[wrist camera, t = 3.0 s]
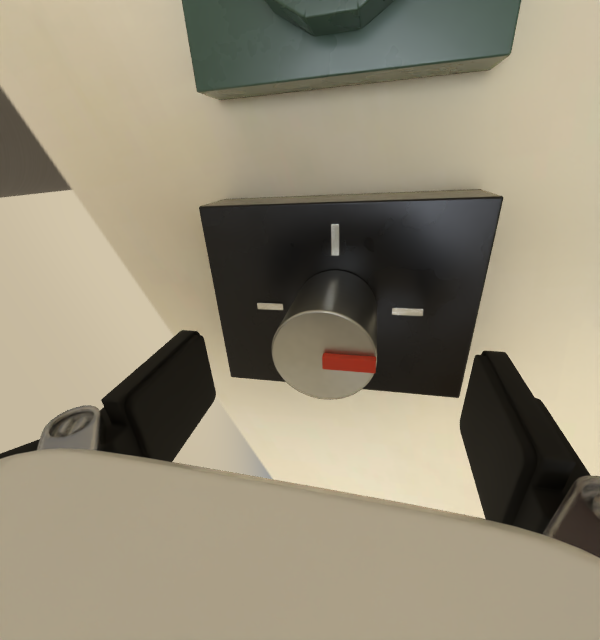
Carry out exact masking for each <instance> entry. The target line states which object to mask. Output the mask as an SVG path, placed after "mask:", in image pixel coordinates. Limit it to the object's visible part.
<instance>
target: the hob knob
mask: <svg viewBox="0 0 600 640" xmlns="http://www.w3.org/2000/svg"><path fill="white" fill-rule="evenodd" d="M272 357H273V361H274V364H275V367H276V369H277V371H278V372H279V374H280V375H281V377H282V378H283V379H284V380H285V381H286V382H287V383H288V384H289V385H290V386H292V387H293V388H294V389H296V390H297V391H299V392H301V393H303V394H305V395H308V396H311V397H315V398H319V399H340V398H344V397H348V396H350V395H353V394H355V393H357V392H358V391H360V390H361V389H362V388H364V387H365V386H366V385H367V384H368V383H369V381H370V380H371V378H372V377H373V375H374V373H376V365H377V303H376V299H375V296H374V294H373V292H372V290H371V289H370V287H369V286H368V285H367V284H366V283H365V282H364V281H363V280H362V279H361V278H359V277H358V276H356V275H354V274H351V273H348V272H345V271H338V270H331V271H325V272H321V273H319V274H316V275H314V276H313V277H311V278H310V279H309V280H307V281H306V282H305V284H304V285H303V286H302V288H301V289H300V291H299V293H298V294H297V296H296V298H295V300H294V301H293V303H292V305H291V307H290V308H289V310H288V312H287V314H286V315H285V317H284V319H283V321H282V322H281V324H280V326H279V327H278V329H277V331H276V333H275V335H274V338H273V341H272Z"/></svg>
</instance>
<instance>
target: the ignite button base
mask: <svg viewBox="0 0 600 640" xmlns="http://www.w3.org/2000/svg"><path fill="white" fill-rule="evenodd" d="M182 4H183V10H184V16H185V22H186V28H187V34H188V40H189V46H190V52H191V58H192V64H193V70H194V76H195V82H196V88H197V92H199V93H202V94H205V95H207V96H210V97H213V98H216V99H219V100H223V99H232V98H241V97H250V96H259V95H268V94H277V93H286V92H295V91H304V90H313V89H322V88H331V87H340V86H349V85H358V84H367V83H376V82H385V81H393V80H402V79H411V78H420V77H429V76H438V75H447V74H456V73H465V72H474V71H483V70H490V69H492V68H493V67H494V66H496V65H497V64H498V63H500V62H501V61H502V60H504V59H505V58H506V57H508V56H509V55H510V54H511V50H512V45H513V40H514V35H515V29H516V24H517V19H518V14H519V9H520V4H521V0H182Z"/></svg>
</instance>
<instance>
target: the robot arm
mask: <svg viewBox="0 0 600 640" xmlns="http://www.w3.org/2000/svg"><path fill="white" fill-rule="evenodd" d="M215 396H216V391H215V387H214V382H213V378H212V373H211V369H210V364H209V360H208V355H207V351H206V346H205V342H204V338H203V336H201V335H200V334H199V332H197V331H186V330H182V331H180V332H179V333H178V334H177V335H176V336H174V337H173V338H172V339H171V340H170V341H169V342H167V343H166V344H165V345H164V346H163V347H162V348H161V349H159V350H158V351H157V352H156V353H155V354H154V355H153V356H151V357H150V358H149V359H148V360H147V361H146V362H145V363H143V364H142V365H141V366H140V367H139V368H138V369H136V370H135V371H134V372H133V373H132V374H131V375H130V376H128V377H127V378H126V379H125V380H124V381H122V382H121V383H120V384H119V385H118V386H117V387H115V388H114V389H113V390H112V391H111V392H110V393H108V394H107V395H106V396H105V397H104V398H103V399H102V403H103V404H104V408H102V409H101V410H100V411H99V409H98V408H96V407H94V406H80V407H76V408H73V409H70V410H67V411H65V412H63V413H62V414H60V415H58V416H57V417H55V418H54V419H52V420H51V421H50V422H49V423H48V424H47V425H46V426H45V428H44V430H43V432H42V435H41V438H40V439H39V440H36V441H34V442H31V443H28V444H26V445H23V446H20V447H18V448H15V449H12V450H9V451H7V452H4V453H1V454H0V640H600V476H591V475H590V474H589V472H588V471H587V469H586V468H585V466H584V465H583V463H582V462H581V460H580V459H579V457H578V456H577V454H576V453H575V451H574V449H573V448H572V446H571V445H570V443H569V442H568V440H567V439H566V437H565V436H564V434H563V433H562V431H561V430H560V428H559V427H558V425H557V424H556V422H555V421H554V419H553V417H552V416H551V414H550V413H549V411H548V410H547V408H546V407H545V405H544V404H543V403H542V401H541V400H539V399H537V398H535V397H534V396H533V394H532V393H531V391H530V390H529V388H528V386H527V385H526V383H525V382H524V380H523V379H522V377H521V375H520V374H519V372H518V371H517V369H516V368H515V366H514V364H513V363H512V361H511V360H510V358H509V357H508V355H507V354H506V353H505V352H494V351H483V352H482V354H481V355H476V356H475V358H474V362H473V366H472V371H471V375H470V379H469V384H468V388H467V392H466V397H465V401H464V405H463V410H462V414H461V418H460V431H461V435H462V438H463V442H464V445H465V449H466V452H467V456H468V459H469V463H470V466H471V470H472V473H473V477H474V480H475V484H476V487H477V491H478V494H479V498H480V501H481V505H482V508H483V511H484V515H485V518H486V519H482V518H477V517H472V516H467V515H462V514H457V513H452V512H447V511H442V510H437V509H432V508H427V507H422V506H417V505H412V504H406V503H401V502H395V501H390V500H384V499H379V498H373V497H368V496H362V495H357V494H351V493H346V492H340V491H335V490H329V489H324V488H318V487H312V486H307V485H301V484H295V483H290V482H284V481H278V480H273V479H267V478H261V477H255V476H250V475H244V474H239V473H233V472H227V471H221V470H215V469H210V468H204V467H198V466H192V465H186V464H180V463H174V462H172V461H173V460H174V458H175V457H176V455H177V454H178V452H179V451H180V450H181V448H182V447H183V445H184V444H185V442H186V441H187V439H188V438H189V437H190V435H191V434H192V432H193V431H194V429H195V428H196V426H197V425H198V423H199V422H200V421H201V419H202V417H203V416H204V415H205V413H206V412H207V410H208V409H209V407H210V406H211V405H212V403H213V402H214V400H215Z"/></svg>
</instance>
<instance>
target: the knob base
mask: <svg viewBox="0 0 600 640" xmlns="http://www.w3.org/2000/svg"><path fill="white" fill-rule="evenodd" d="M502 202H503V197H502V196H499V195H496V194H493V193H490V192H487V191H484V190H481V189H478V190H451V191H425V192H399V193H372V194H346V195H320V196H294V197H267V198H241V199H224V200H220V201H217V202H213V203H210V204H206V205H203V206H200V207H199V210H200V216H201V221H202V226H203V231H204V236H205V242H206V247H207V252H208V257H209V263H210V268H211V273H212V278H213V284H214V289H215V294H216V299H217V305H218V310H219V315H220V320H221V326H222V331H223V336H224V341H225V346H226V352H227V357H228V362H229V367H230V373H231V377H238V378H249V379H260V380H271V381H282V382H286V381H285V380H284V379H283V378H282V377H281V375H280V374H279V372H278V371H277V369H276V367H275V364H274V361H273V357H272V341H273V338H274V335H275V333H276V331H277V329H278V327H279V326H280V324H281V322H282V321H283V319H284V317H285V315H286V314H287V312H288V310H289V308H290V307H291V305H292V303H293V301H294V300H295V298H296V296H297V294H298V293H299V291H300V289H301V288H302V286H303V285H304V284H305V282H306V281H307V280H309V279H310V278H311V277H313V276H314V275H316V274H319V273H321V272H325V271H331V270H338V271H345V272H348V273H351V274H354V275H356V276H358V277H359V278H361V279H362V280H363V281H364V282H365V283H366V284H367V285H368V286H369V287H370V289H371V290H372V292H373V294H374V296H375V299H376V303H377V365H376V373H374V375H373V377H372V378H371V380H370V381H369V383H368V384H367V385H366V386H365V387H364V388H362V389H368V390H379V391H390V392H401V393H411V394H422V395H433V396H444V397H455V398H459V396H460V391H461V387H462V382H463V378H464V373H465V369H466V364H467V360H468V355H469V351H470V346H471V342H472V337H473V332H474V328H475V323H476V319H477V314H478V310H479V305H480V301H481V296H482V292H483V287H484V283H485V278H486V274H487V269H488V265H489V260H490V256H491V251H492V247H493V242H494V238H495V233H496V229H497V224H498V220H499V215H500V211H501V206H502Z"/></svg>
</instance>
